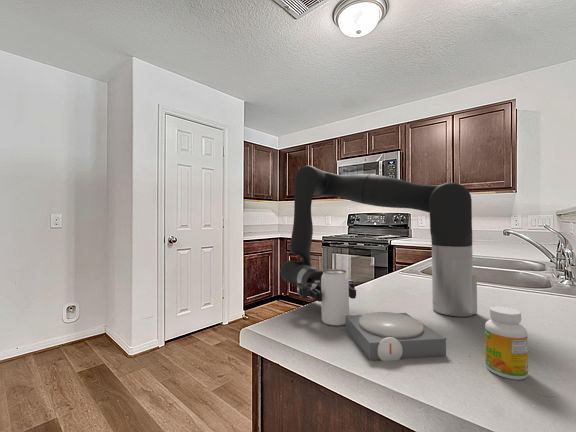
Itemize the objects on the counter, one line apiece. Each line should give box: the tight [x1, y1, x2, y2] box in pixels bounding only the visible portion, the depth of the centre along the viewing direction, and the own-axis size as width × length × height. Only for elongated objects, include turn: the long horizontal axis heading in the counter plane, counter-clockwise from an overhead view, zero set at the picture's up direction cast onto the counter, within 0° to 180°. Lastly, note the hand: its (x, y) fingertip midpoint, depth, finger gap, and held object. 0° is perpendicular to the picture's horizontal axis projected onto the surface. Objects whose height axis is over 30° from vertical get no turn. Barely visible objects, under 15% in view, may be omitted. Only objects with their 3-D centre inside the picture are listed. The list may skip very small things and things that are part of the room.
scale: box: [345, 311, 447, 362], centre depth 57 cm, size 14×15×4 cm
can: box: [320, 268, 350, 327], centre depth 68 cm, size 6×6×12 cm
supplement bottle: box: [484, 305, 529, 381], centre depth 46 cm, size 5×5×10 cm
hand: (337, 295), depth 67 cm, fingers open, 8 cm apart
